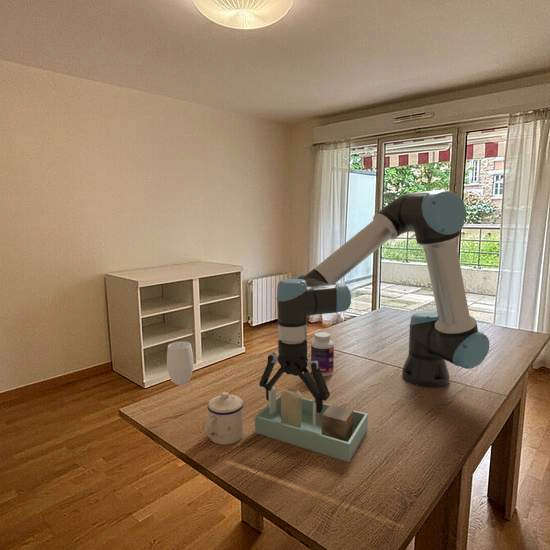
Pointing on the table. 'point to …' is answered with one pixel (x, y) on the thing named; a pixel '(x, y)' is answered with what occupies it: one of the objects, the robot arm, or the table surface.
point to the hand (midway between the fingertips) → (293, 417)
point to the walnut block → (337, 423)
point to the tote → (311, 431)
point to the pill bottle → (323, 352)
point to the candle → (291, 407)
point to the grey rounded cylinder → (180, 362)
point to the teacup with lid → (225, 419)
